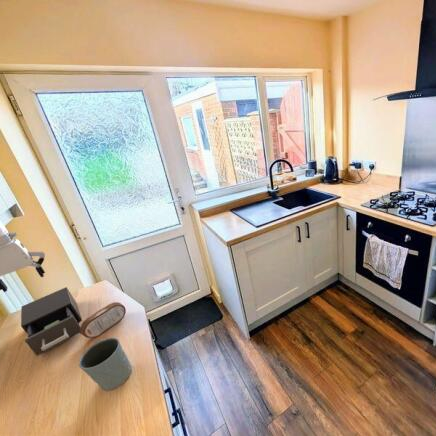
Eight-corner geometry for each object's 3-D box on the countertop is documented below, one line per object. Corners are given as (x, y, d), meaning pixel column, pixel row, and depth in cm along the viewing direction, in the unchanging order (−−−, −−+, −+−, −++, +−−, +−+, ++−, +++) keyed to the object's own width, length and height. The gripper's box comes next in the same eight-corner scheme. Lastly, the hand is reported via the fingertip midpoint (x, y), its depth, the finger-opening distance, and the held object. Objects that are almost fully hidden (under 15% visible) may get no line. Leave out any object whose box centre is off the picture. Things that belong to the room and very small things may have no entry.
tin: (126, 312, 104) (118, 297, 100) (130, 315, 102) (122, 299, 98) (85, 340, 92) (74, 324, 89) (89, 344, 91) (78, 327, 87)
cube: (50, 341, 91) (44, 333, 89) (50, 335, 94) (44, 326, 92) (65, 333, 94) (60, 325, 92) (64, 327, 97) (58, 319, 95)
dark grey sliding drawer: (85, 339, 92) (75, 324, 88) (37, 366, 83) (24, 351, 80) (77, 313, 105) (68, 299, 102) (35, 334, 97) (24, 319, 93)
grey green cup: (139, 371, 79) (125, 345, 73) (105, 401, 71) (86, 375, 66) (125, 356, 84) (110, 332, 79) (91, 383, 77) (72, 358, 72)
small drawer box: (82, 320, 102) (70, 302, 98) (35, 344, 93) (20, 326, 89) (76, 303, 113) (66, 286, 109) (34, 323, 104) (21, 306, 99)
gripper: (30, 228, 89) (54, 267, 96) (-43, 250, 78) (-9, 291, 85) (31, 234, 84) (56, 274, 91) (-47, 257, 73) (-12, 301, 80)
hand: (24, 282), depth 88 cm, fingers open, 9 cm apart
